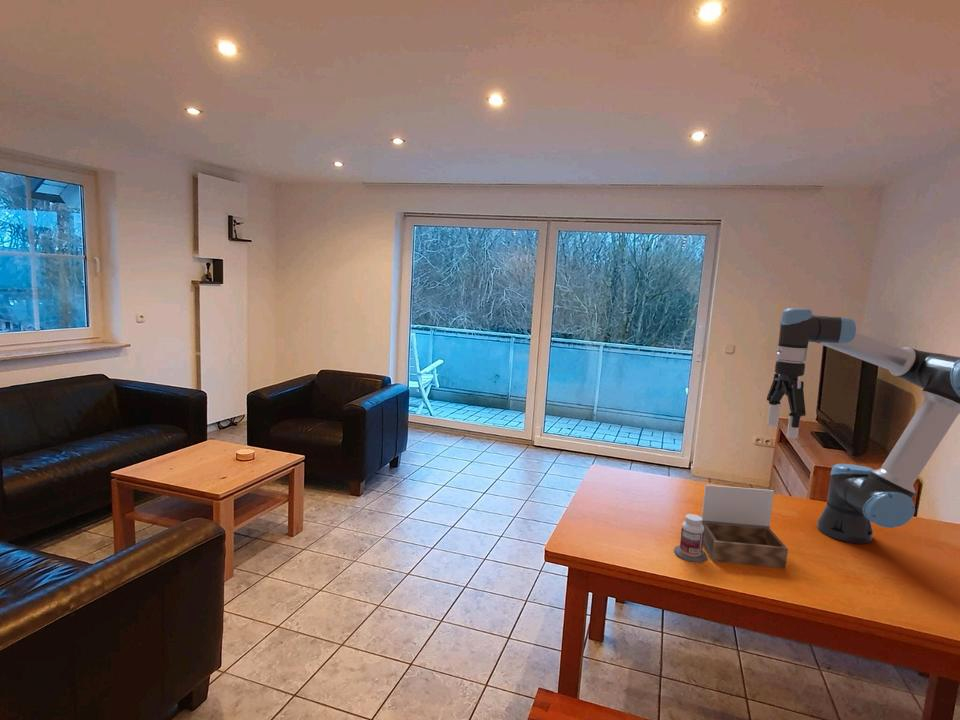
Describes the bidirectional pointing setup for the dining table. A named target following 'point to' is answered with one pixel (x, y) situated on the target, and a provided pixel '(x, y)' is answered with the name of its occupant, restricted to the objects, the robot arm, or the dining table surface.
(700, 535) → the pill bottle
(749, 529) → the box
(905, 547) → the dining table surface
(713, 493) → the frame lid
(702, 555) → the grey round disc
